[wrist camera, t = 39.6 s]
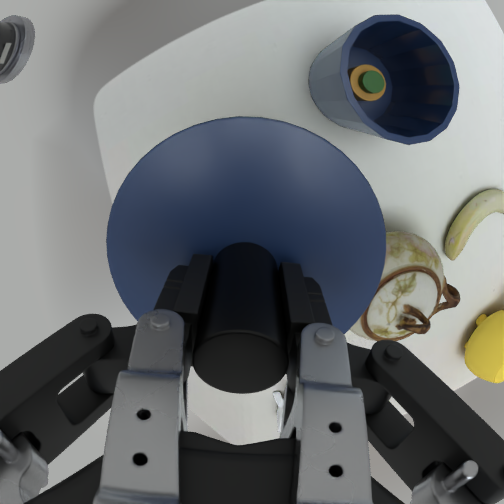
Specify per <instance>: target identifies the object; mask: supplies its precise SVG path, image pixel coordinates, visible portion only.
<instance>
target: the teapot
mask: <svg viewBox="0 0 504 504" xmlns="http://www.w3.org/2000/svg"><path fill="white" fill-rule="evenodd" d="M476 324H477V325H478V327H477V328H476V329H475V331H474V332H473V334H472V335H471V337H470V339H469V341H468V342H467V343H466V344H465V346H464V348H465V349H466V351H465V364H466V366H467V367H468V369H469V370H470V371H471V372H472V373H473V374H474V375H476V376H477V377H479V378H481V379H484V380H486V381H490V382H493V383H500V382H503V381H504V310H500V311H497V312H495V313H493V314H491V315H490V316H489V317H487V316H486V315H485V314H482V315H480V316H479V317H478V319H477V320H476Z"/></svg>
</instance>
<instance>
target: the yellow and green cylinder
mask: <svg viewBox="0 0 504 504" xmlns="http://www.w3.org/2000/svg"><path fill="white" fill-rule="evenodd" d="M348 76H349V80H350V83H351V87H352V91H353V94H354V97H355V99H356V100H357V101H374V100H377V99H379V98H380V97H381V96H382V95H383V94H384V92H385V88H386V82H385V78H384V76H383V74H382V73H381V72H380V71H379V70H378V69H377V68H376V67H374V66H371V65H366V64H365V65H360V66H357V67H354V68H351V69H348Z"/></svg>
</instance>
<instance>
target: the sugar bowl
mask: <svg viewBox="0 0 504 504" xmlns="http://www.w3.org/2000/svg"><path fill="white" fill-rule="evenodd" d="M442 294H443V296H444V297H445V299H446V301H447V302H443V303H440V304H439V301H440V298H441V295H442ZM459 302H460V294H459V292H458V290H457V289H456V288H454V287H453V286H451V285H449V284H447V282H446V278H445V276H444V273H443V265H442V262H441V259H440V257H439V255H438V254H437V252H436V250H435V249H434V248H433V247H432V245H431V244H430V243H429V242H427V241H426V240H425V239H423V238H421V237H419V236H417V235H415V234H411V233H407V232H401V231H393V232H386V257H385V265H384V270H383V273H382V277H381V281H380V283H379V286H378V288H377V291H376V293H375V295H374V297H373V299H372V301H371V302H370V304H369V306H368V307H367V309H366V310H365V312H364V313H363V314H362V316H361V317H360V318H359V320H358V321H357V322H356V323H355V324H354V325H353V326H352V327H351V328H350V330H351V331H352V332H354V333H355V334H356V335H358V336H360V337H363V338H365V339H368V340H373V341H380V340H393V341H398V340H401V339H404V338H406V337H409V336H410V335H412V334H414V333H417V334H425V333H426V332H427V331H428V330H429V329H430V321H429V319H430V318H431V317H432V315H434V314H436V313H437V312H439V311H441V310H444V309H448V308H453V307H456V306H457V305H458V303H459Z"/></svg>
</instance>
